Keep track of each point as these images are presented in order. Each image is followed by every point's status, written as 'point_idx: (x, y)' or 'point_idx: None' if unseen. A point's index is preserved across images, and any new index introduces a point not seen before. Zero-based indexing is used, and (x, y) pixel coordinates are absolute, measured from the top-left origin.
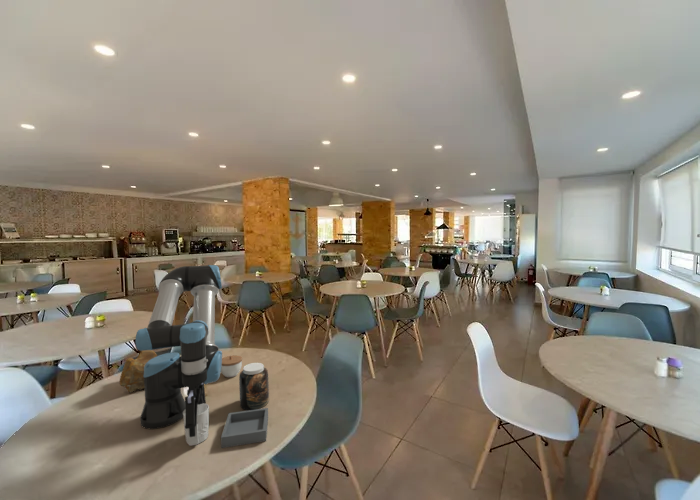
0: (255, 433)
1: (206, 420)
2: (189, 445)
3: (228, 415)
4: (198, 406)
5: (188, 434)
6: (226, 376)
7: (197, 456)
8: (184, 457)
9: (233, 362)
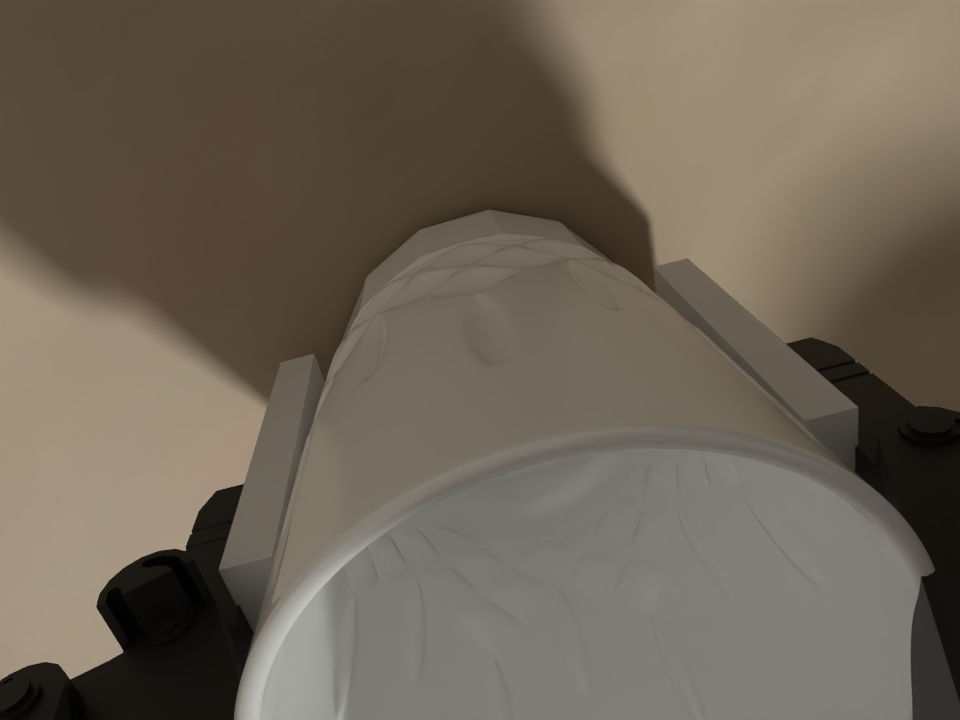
0: None
1: (502, 707)
2: (283, 370)
3: None
4: (873, 583)
5: (252, 460)
6: None
7: (146, 530)
8: (96, 391)
9: None
